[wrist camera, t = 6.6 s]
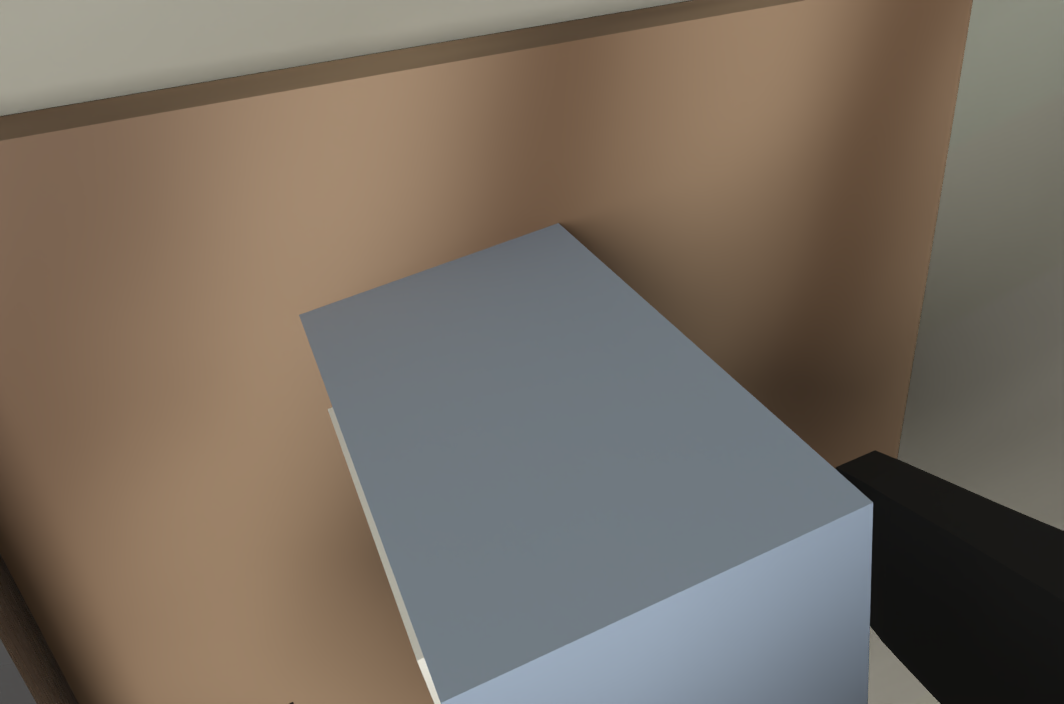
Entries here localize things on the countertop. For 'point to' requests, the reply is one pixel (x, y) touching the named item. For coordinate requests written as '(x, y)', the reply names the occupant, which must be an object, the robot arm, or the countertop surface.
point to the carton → (588, 494)
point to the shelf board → (405, 249)
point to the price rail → (26, 653)
